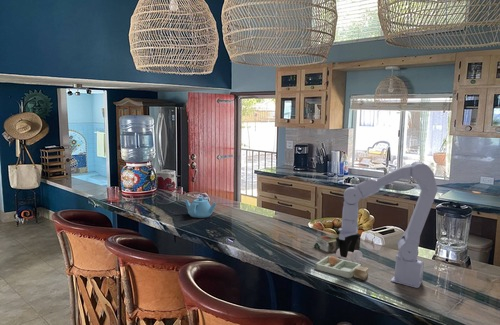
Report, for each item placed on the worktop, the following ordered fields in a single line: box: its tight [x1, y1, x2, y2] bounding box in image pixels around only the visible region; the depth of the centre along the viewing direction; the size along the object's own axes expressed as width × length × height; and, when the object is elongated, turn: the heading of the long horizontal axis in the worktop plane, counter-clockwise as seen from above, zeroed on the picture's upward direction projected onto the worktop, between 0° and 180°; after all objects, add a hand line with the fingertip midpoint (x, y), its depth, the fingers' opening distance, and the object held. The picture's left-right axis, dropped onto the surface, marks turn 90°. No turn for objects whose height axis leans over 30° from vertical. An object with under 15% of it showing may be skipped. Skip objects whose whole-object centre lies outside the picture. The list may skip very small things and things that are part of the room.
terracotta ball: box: [328, 255, 338, 265], centre depth 154 cm, size 4×4×4 cm
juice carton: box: [313, 233, 361, 253], centre depth 178 cm, size 20×10×6 cm, turn 119°
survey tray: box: [314, 255, 362, 279], centre depth 151 cm, size 14×12×3 cm
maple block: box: [353, 265, 369, 280], centre depth 144 cm, size 4×4×4 cm
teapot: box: [184, 196, 217, 219], centre depth 228 cm, size 15×15×11 cm
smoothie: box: [335, 249, 368, 265], centre depth 159 cm, size 6×6×14 cm
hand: (347, 254), depth 148 cm, fingers open, 7 cm apart
